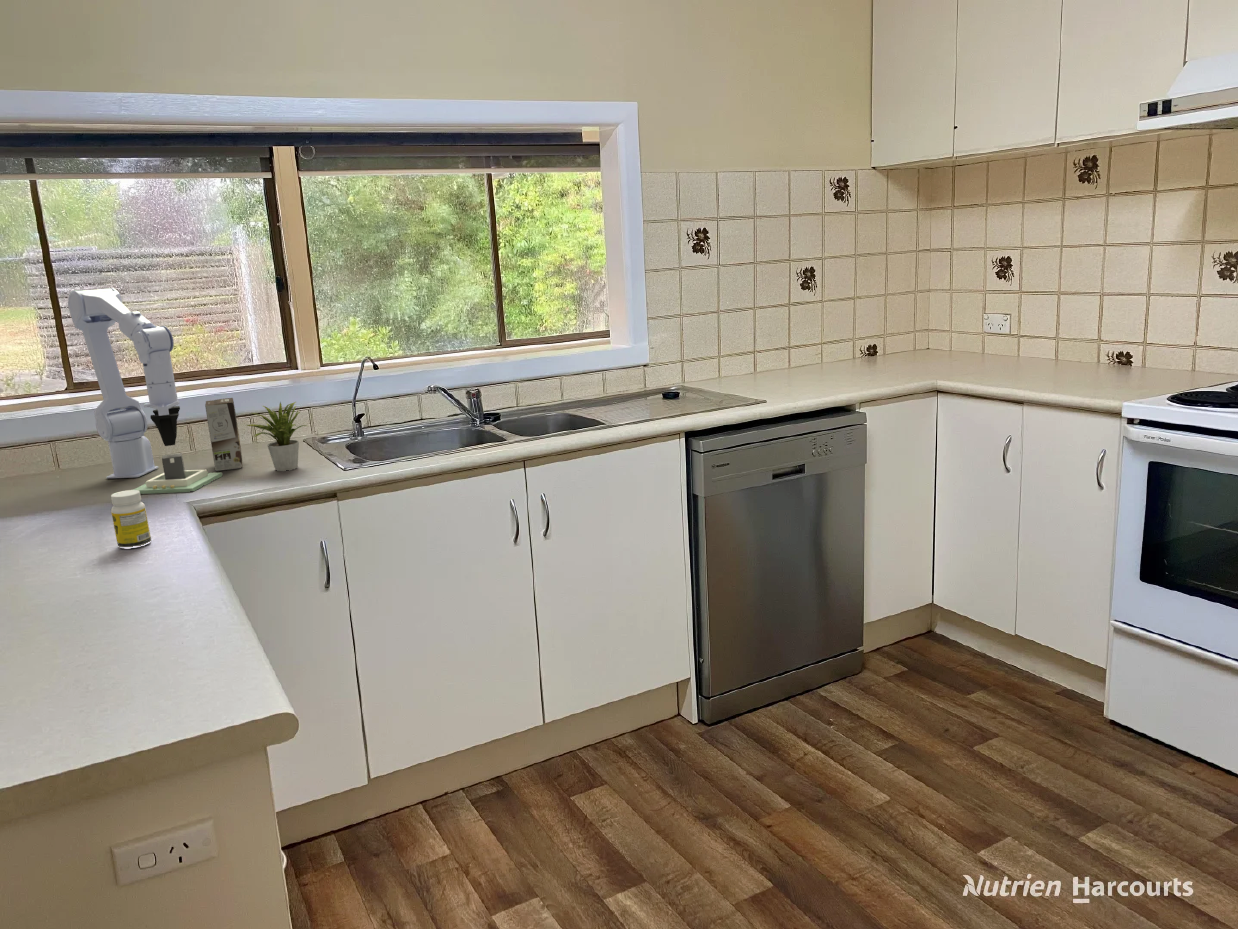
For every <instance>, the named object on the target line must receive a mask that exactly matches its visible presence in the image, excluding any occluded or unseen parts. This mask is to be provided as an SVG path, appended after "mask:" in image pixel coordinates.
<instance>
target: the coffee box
mask: <svg viewBox="0 0 1238 929" xmlns="http://www.w3.org/2000/svg"><path fill="white" fill-rule="evenodd" d="M204 406H205V412H206V420H207V426H208V432H209V438H210V444H211V451H212V457H213V462H214V470H215V471H216V472H219V471H226V470H227V471H228V470H235V469H242V468H243V455H242V448H241V447H242V446H241V440H240V439H241V438H240V432H239V428H238V421H237V413H236V409H235V408H236V407H235V403H234V398H233V397H229V398H228V397H227V398H219V399H218V398H217V399H213V400H206V401H205V404H204ZM241 467H242V468H241Z"/></svg>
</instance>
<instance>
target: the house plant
mask: <svg viewBox="0 0 1238 929" xmlns="http://www.w3.org/2000/svg"><path fill="white" fill-rule="evenodd" d="M296 403H297V401H294V402H292V403H289V404H287V405H286V406H285V407H284V409H283V405H282V402H281V401H280V402H279V407H278V411H277V412H278V414H277V412H276V411H274V410H271V409H270V408H269V407H268V406H265V405H262V407H264V408H265V410H266V411H267V412H268V415H269V417H270V418H271V419H270V418H268V417H267V416H265V415H261V414H259V413H257V412H252V414H254V415H257V417H258V418H261V419H262V420H263V421H264V422H265V424H266V425H264V424H258V423H257V424H246V426H247V427H253V428H257V431H259V432H258V433H255V434H254V435H253V438H256V437H257V436H259V435H266V436H267V437H268V438H271V437H272V438H271V440H274V441H273V442H269V443H267V448H268V451H269V455H270V457H271V460H272V464H273V468H274V470H275V471H276V470H277V471H276V472H287V471H286V470H289V471H293V470H292V469H294V470H296V469H295V468H297V467H298V468H299V447H300V446H299V445H300V444H299V443H300V441H299V440H297V439H291V437H292V436H293V434H294V432H295V431H297V429H299V428H301V427H308V425H306V424H305V425H298V426H297V425H296V423H294V421H295V420H296V419H297V417H298V416H299V415H298V414H300V413H301V411H299V410H300V408H301V407H299V409H297V411H296V413H295V410H296V407H297V405H295V404H296ZM294 413H295V414H294ZM293 415H294V416H293ZM294 426H295V427H296V428H293V427H294ZM258 429H260V430H261V431H260V430H258ZM265 431H268V432H265ZM298 468H297V469H298Z"/></svg>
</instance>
